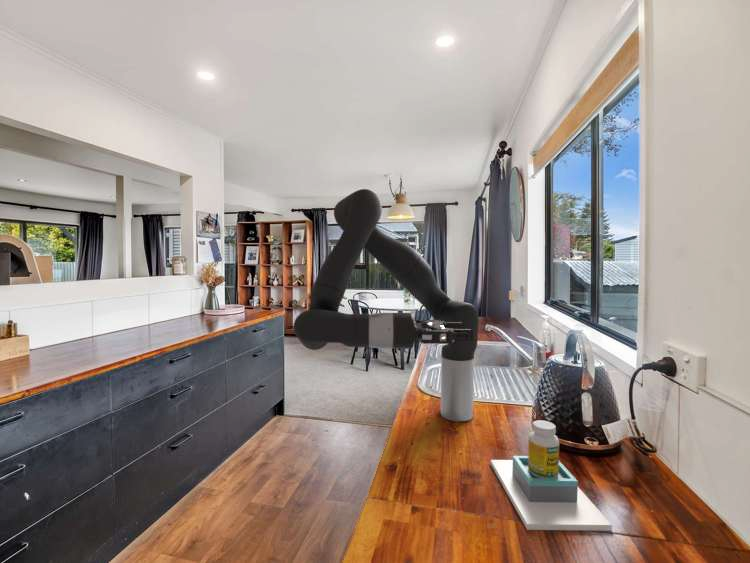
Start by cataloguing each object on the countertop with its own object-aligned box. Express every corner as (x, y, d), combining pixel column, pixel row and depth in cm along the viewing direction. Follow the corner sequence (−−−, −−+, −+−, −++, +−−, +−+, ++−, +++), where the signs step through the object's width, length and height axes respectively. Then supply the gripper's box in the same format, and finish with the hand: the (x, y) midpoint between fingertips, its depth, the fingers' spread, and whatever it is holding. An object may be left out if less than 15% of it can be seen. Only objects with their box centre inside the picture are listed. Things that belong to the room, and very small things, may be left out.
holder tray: (490, 464, 81) (491, 442, 81) (554, 464, 81) (554, 442, 81) (527, 529, 61) (527, 500, 61) (611, 530, 61) (612, 501, 61)
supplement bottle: (538, 462, 75) (539, 416, 74) (564, 475, 70) (565, 426, 70) (521, 470, 72) (523, 422, 71) (548, 484, 67) (549, 433, 67)
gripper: (392, 318, 71) (476, 318, 71) (389, 308, 85) (460, 309, 85) (391, 356, 71) (476, 357, 71) (389, 340, 85) (459, 341, 85)
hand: (467, 331), depth 78 cm, fingers open, 8 cm apart
